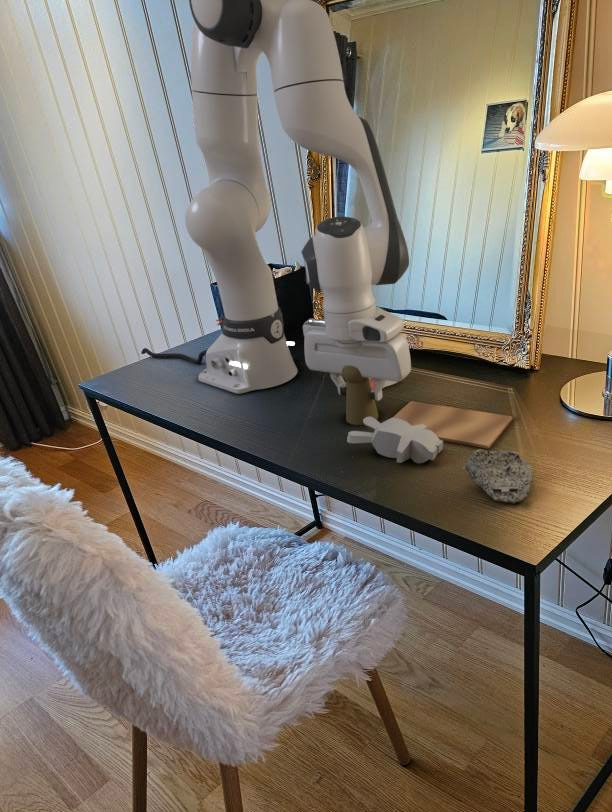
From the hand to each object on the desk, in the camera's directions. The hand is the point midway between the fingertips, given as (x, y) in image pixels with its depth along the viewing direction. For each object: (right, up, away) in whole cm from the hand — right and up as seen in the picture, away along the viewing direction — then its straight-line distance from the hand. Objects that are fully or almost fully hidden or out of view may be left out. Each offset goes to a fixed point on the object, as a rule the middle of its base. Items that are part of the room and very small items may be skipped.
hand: (360, 396), depth 118 cm
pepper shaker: (0, -4, +2) cm, 4 cm away
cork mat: (+15, -6, -4) cm, 17 cm away
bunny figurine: (+6, -11, -10) cm, 16 cm away
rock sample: (+22, -17, -22) cm, 36 cm away
